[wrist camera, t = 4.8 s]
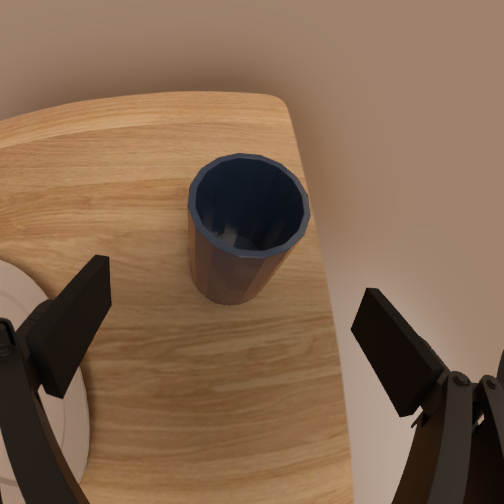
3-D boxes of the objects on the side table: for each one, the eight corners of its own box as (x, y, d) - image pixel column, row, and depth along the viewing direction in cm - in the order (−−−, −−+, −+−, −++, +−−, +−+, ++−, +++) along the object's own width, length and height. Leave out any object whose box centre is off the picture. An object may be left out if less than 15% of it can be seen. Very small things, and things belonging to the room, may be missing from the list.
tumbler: (268, 306, 25) (316, 260, 15) (188, 303, 24) (183, 254, 14) (265, 235, 28) (302, 160, 18) (192, 231, 27) (194, 149, 17)
